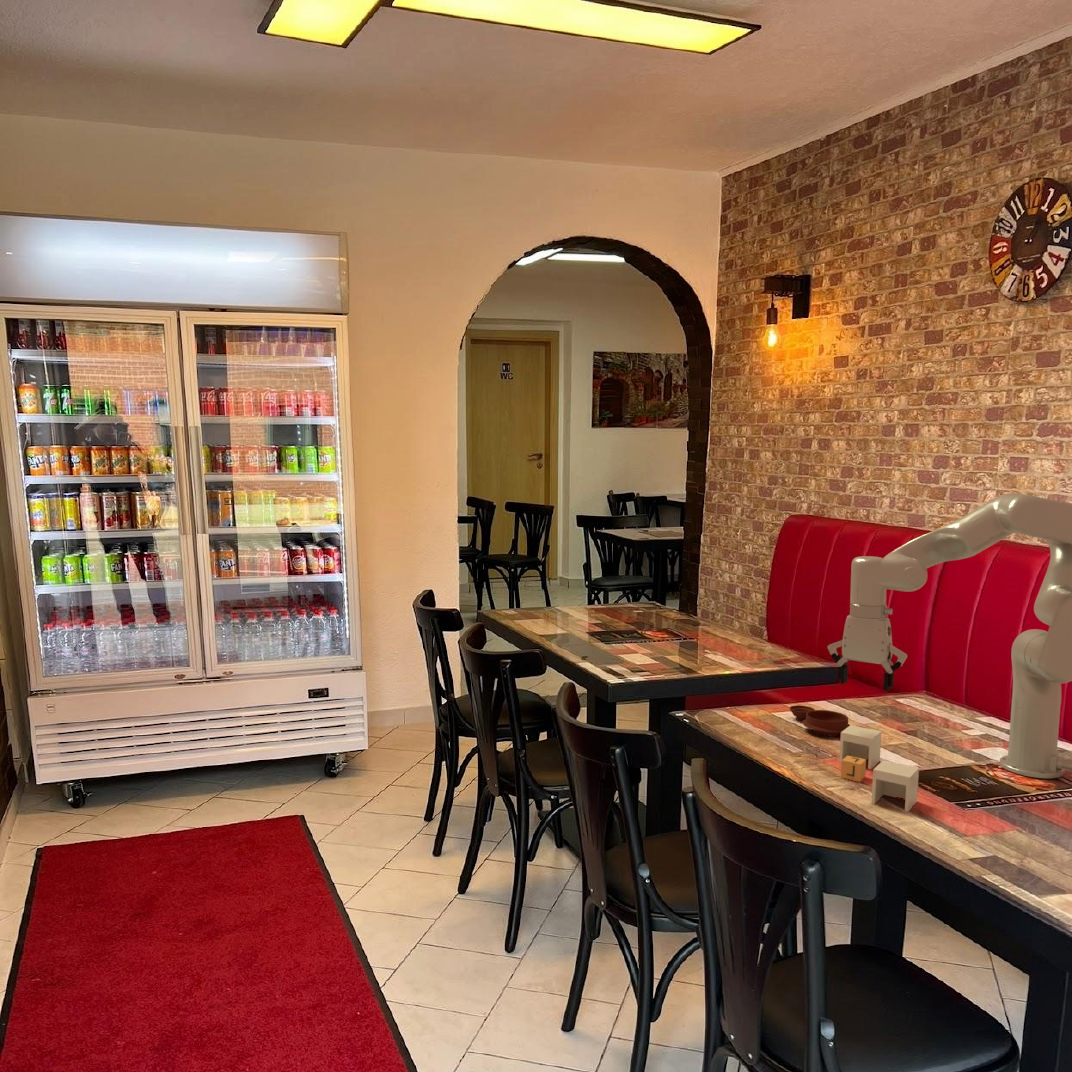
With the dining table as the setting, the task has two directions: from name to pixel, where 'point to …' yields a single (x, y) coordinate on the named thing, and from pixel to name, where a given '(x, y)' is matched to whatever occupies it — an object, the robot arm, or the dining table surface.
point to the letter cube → (853, 768)
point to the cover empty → (895, 782)
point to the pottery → (821, 720)
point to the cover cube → (861, 744)
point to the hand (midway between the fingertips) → (865, 686)
